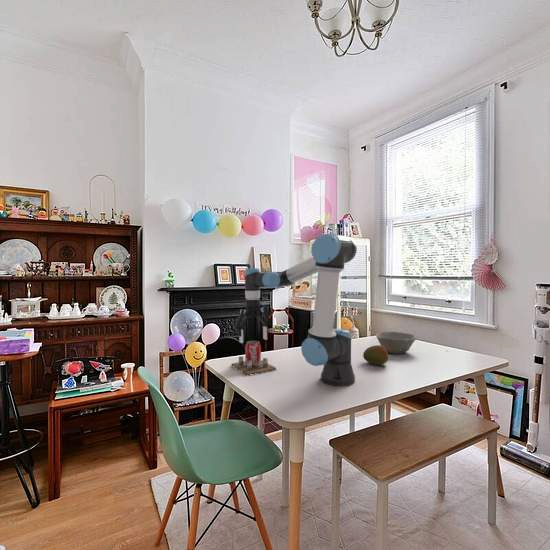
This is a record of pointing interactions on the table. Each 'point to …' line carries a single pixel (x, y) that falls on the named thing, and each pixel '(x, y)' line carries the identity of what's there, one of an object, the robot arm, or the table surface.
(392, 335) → the ceramic bowl
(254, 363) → the beverage can
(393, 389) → the table surface
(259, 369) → the peg board
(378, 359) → the fruit
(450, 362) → the table surface
